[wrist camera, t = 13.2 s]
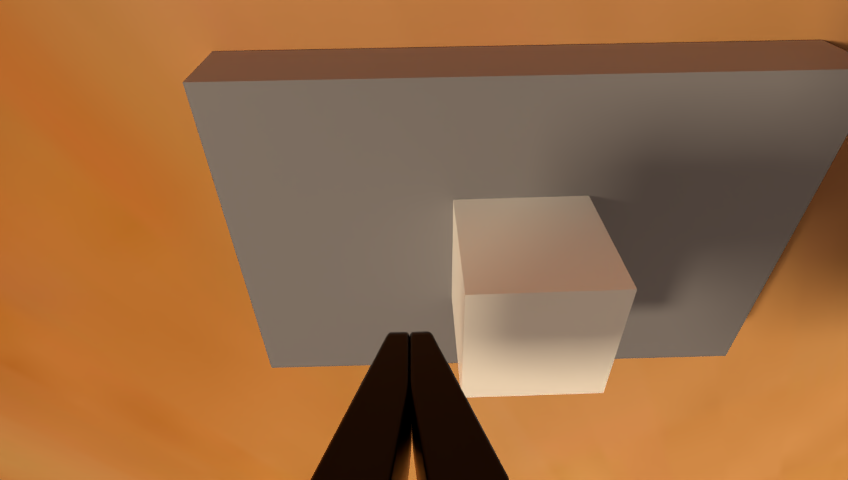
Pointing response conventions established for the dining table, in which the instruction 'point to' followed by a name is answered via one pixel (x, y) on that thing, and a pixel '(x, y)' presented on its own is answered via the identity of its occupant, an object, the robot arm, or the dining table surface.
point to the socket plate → (512, 176)
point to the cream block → (536, 296)
